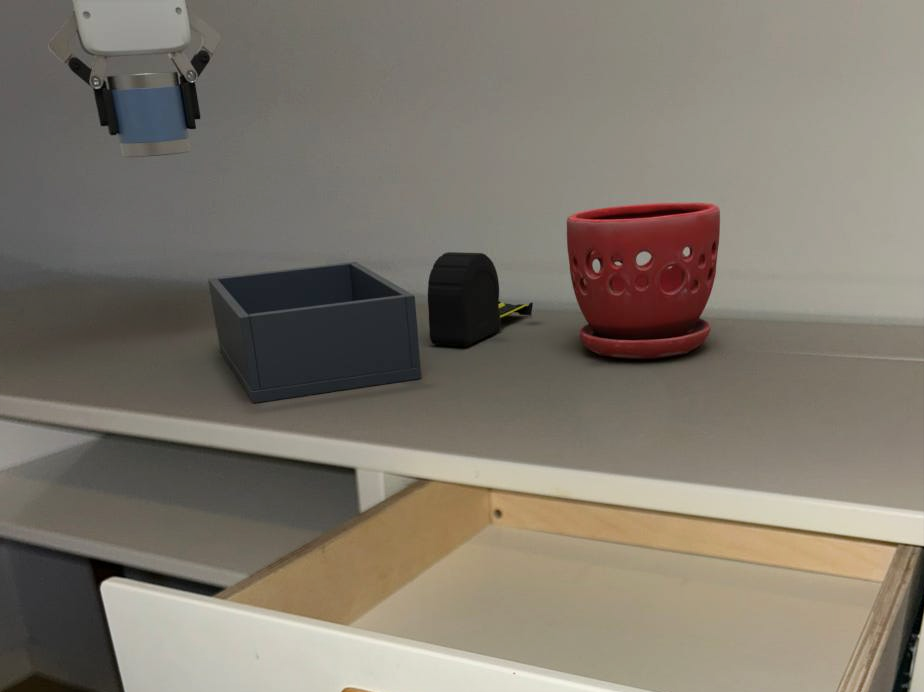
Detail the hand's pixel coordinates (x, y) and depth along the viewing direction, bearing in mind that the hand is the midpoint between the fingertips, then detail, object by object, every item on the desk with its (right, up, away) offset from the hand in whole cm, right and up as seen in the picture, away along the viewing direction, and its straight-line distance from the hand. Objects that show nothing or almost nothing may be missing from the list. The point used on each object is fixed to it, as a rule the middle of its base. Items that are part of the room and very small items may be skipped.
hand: (152, 129), depth 105 cm
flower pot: (+47, -24, -7) cm, 53 cm away
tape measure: (+32, -19, +3) cm, 38 cm away
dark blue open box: (+17, -24, -6) cm, 30 cm away
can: (0, -2, +1) cm, 2 cm away
